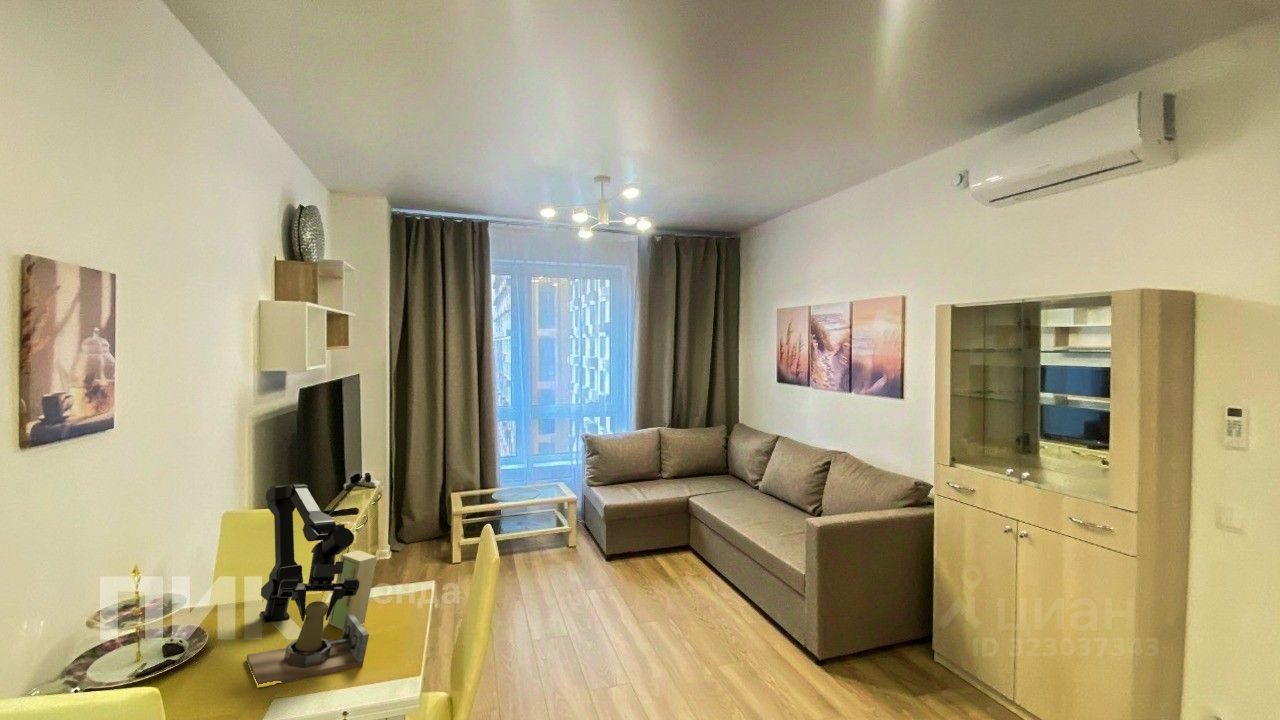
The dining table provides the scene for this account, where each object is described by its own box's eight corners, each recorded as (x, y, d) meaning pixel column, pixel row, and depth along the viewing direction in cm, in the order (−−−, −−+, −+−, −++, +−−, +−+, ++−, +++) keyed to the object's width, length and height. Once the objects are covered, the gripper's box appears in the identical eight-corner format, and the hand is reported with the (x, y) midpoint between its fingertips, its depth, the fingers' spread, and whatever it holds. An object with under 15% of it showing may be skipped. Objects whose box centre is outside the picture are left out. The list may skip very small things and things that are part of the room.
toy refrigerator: (324, 624, 167) (339, 554, 169) (345, 616, 174) (359, 549, 175) (343, 633, 164) (358, 561, 166) (364, 625, 171) (378, 556, 172)
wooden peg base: (245, 660, 143) (253, 627, 143) (345, 642, 159) (352, 612, 160) (257, 688, 133) (265, 652, 133) (362, 666, 149) (369, 634, 150)
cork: (309, 653, 143) (319, 610, 143) (289, 646, 144) (299, 604, 145) (326, 644, 149) (336, 602, 149) (307, 637, 150) (317, 596, 151)
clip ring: (281, 652, 146) (285, 633, 146) (346, 641, 157) (349, 623, 158) (290, 670, 139) (294, 650, 140) (357, 657, 150) (361, 638, 151)
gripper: (288, 548, 146) (276, 609, 136) (365, 549, 156) (360, 606, 146) (282, 567, 153) (271, 626, 143) (357, 567, 162) (352, 623, 152)
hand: (314, 620), depth 146 cm, fingers closed on cork, 5 cm apart
